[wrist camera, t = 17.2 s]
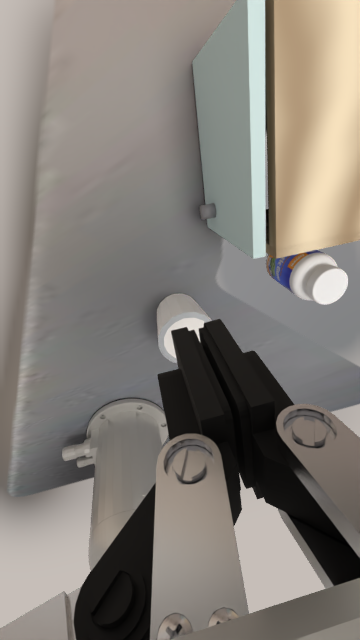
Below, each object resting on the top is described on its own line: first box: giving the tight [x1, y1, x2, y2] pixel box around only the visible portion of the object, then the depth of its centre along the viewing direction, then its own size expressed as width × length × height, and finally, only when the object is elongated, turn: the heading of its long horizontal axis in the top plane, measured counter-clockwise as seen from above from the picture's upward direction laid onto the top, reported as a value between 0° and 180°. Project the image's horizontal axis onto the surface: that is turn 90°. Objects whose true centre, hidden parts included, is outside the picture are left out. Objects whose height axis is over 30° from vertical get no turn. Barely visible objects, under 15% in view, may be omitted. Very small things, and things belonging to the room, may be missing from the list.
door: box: [192, 0, 266, 259], centre depth 25 cm, size 2×15×14 cm, turn 8°
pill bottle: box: [266, 250, 348, 304], centre depth 35 cm, size 5×5×10 cm
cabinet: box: [265, 0, 360, 259], centre depth 26 cm, size 14×16×14 cm
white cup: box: [157, 293, 212, 363], centre depth 37 cm, size 7×7×7 cm
